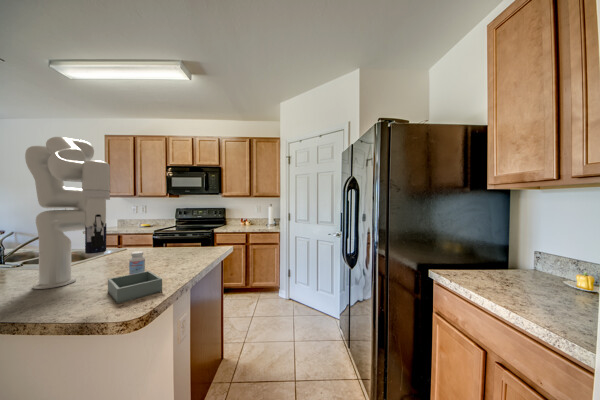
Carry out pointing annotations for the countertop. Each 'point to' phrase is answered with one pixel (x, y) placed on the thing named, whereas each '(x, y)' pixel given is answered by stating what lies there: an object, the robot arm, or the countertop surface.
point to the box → (134, 286)
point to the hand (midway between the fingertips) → (96, 245)
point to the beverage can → (88, 248)
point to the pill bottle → (136, 263)
